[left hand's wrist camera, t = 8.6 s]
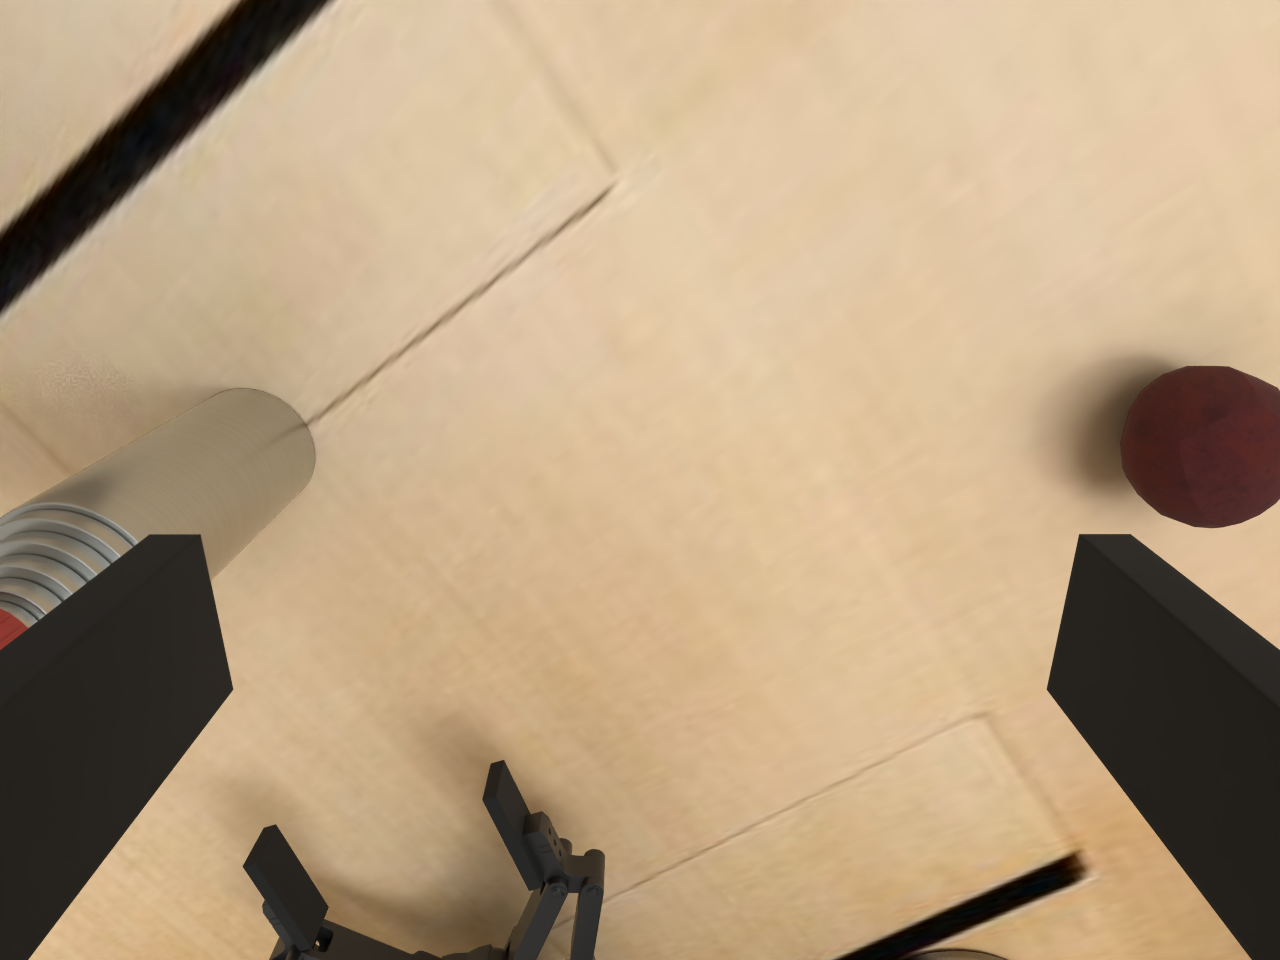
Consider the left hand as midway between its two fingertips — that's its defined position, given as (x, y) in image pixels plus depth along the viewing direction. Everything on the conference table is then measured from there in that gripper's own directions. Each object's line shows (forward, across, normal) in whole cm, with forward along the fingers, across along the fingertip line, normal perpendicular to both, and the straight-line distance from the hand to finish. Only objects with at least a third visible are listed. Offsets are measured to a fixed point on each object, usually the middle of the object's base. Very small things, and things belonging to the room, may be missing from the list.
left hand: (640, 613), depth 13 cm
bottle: (+30, -20, -8) cm, 37 cm away
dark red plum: (+30, +27, -6) cm, 41 cm away
